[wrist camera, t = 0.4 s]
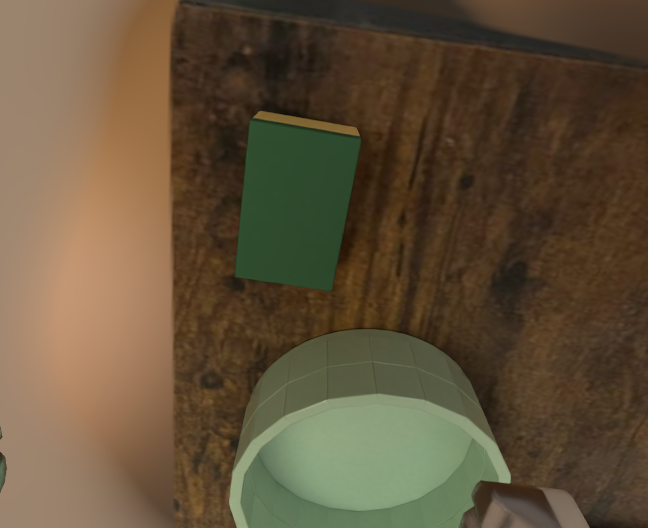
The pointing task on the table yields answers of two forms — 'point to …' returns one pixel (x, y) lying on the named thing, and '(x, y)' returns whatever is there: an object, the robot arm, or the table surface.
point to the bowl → (362, 438)
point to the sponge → (295, 199)
